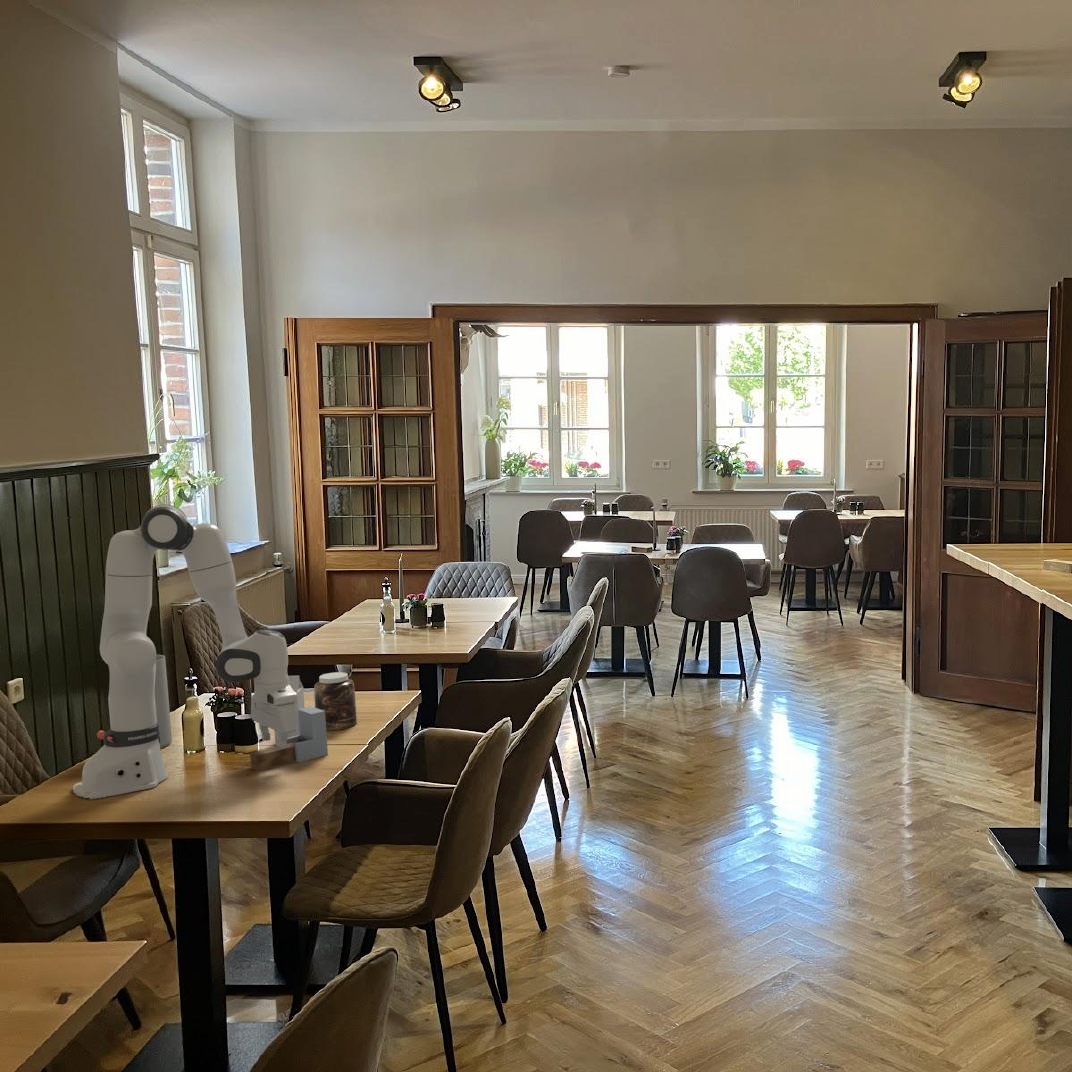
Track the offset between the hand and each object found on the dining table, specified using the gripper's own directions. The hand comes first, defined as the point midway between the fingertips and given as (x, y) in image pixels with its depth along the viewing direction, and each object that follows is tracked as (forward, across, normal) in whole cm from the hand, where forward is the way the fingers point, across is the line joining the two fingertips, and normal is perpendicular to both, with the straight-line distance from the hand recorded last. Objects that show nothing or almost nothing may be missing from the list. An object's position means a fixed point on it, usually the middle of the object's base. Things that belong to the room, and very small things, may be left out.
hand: (274, 743), depth 280 cm
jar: (+5, -22, +30) cm, 38 cm away
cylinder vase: (+6, -45, -17) cm, 48 cm away
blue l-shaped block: (+5, 0, +10) cm, 11 cm away
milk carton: (+5, -16, +12) cm, 21 cm away
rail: (+6, 0, +1) cm, 6 cm away
